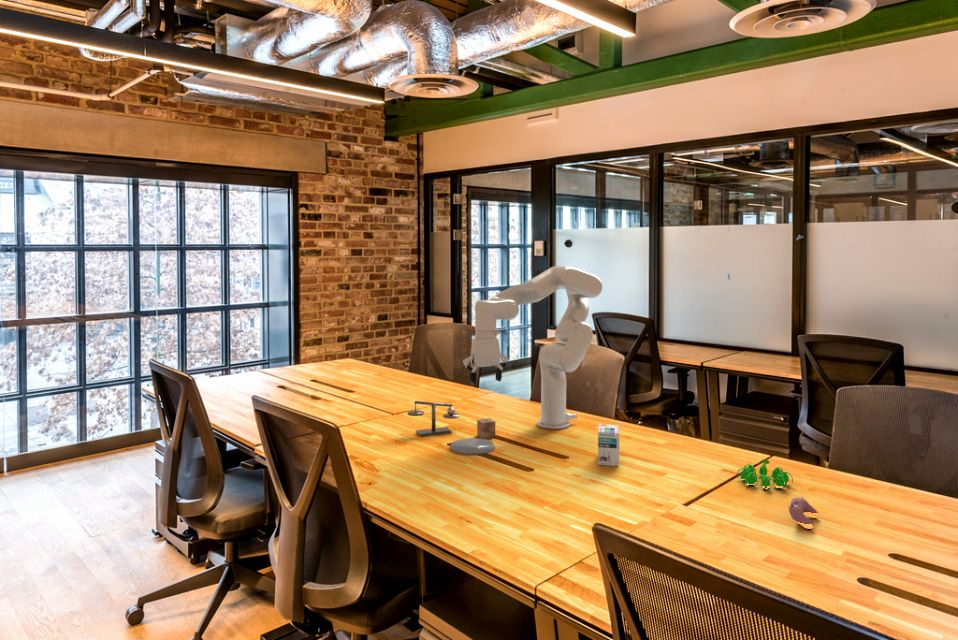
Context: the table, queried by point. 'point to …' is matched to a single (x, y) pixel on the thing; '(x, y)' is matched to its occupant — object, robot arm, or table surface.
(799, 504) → the purple rounded piece
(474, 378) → the robot arm
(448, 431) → the balance
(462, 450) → the dish
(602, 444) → the light bulb box
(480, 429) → the walnut block
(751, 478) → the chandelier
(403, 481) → the table surface
